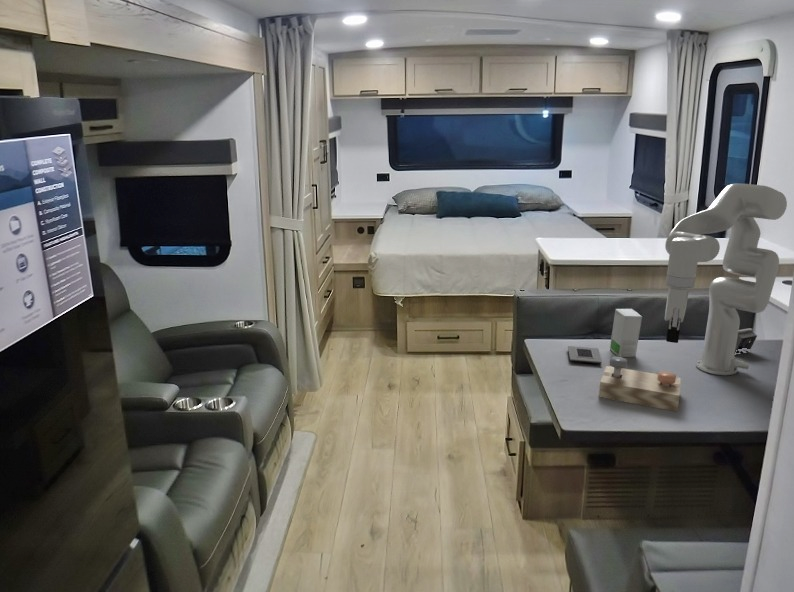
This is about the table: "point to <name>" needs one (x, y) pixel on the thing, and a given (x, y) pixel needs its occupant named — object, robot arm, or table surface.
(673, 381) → the terracotta button
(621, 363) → the grey button
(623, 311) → the skincare box
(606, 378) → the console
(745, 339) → the electrical switch
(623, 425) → the table surface
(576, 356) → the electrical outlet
